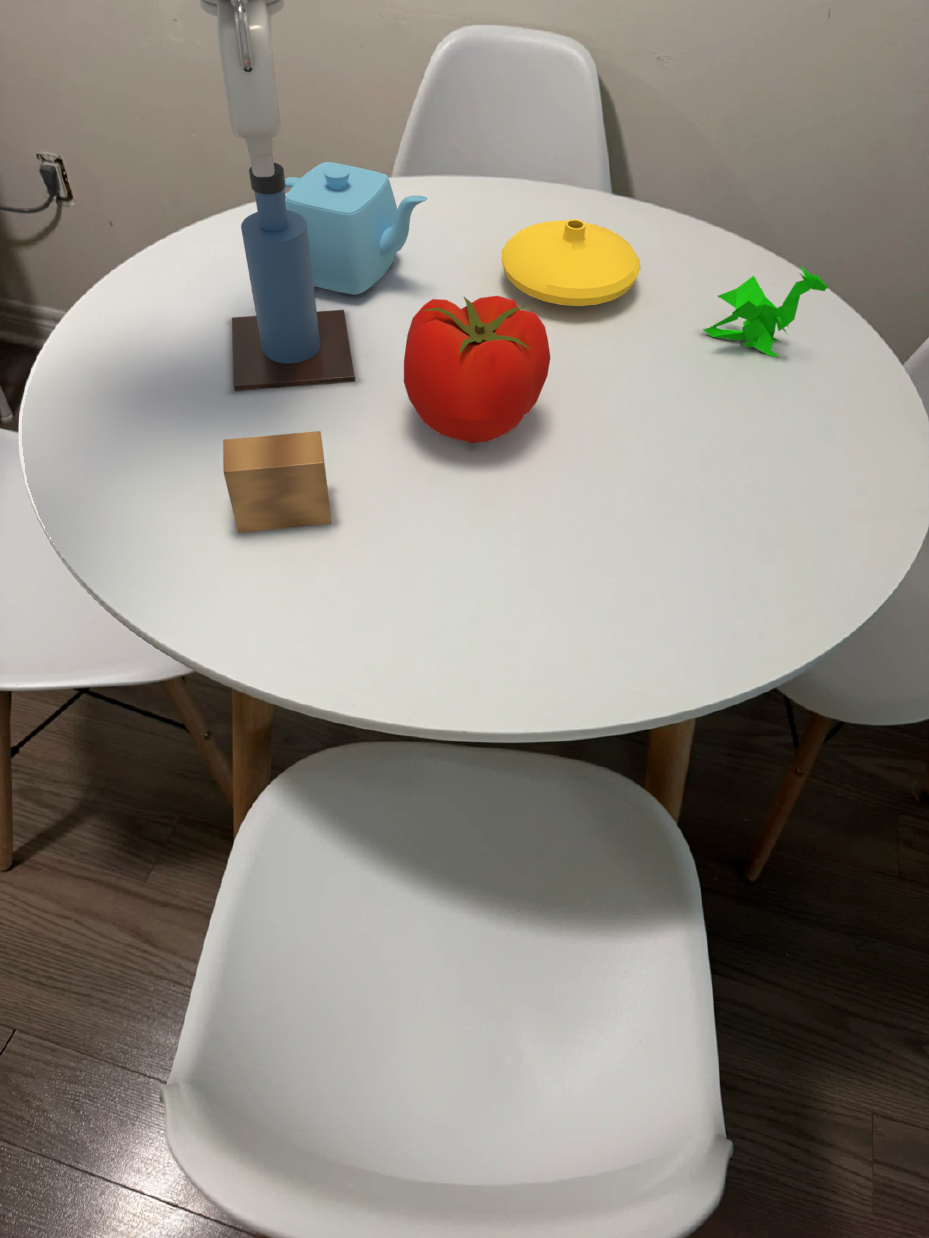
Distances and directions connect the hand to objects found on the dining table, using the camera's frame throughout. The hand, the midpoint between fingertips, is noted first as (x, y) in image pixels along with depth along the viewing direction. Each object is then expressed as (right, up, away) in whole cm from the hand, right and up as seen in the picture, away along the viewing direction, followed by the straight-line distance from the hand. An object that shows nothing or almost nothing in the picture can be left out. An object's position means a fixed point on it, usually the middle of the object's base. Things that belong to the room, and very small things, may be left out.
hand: (261, 148), depth 76 cm
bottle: (-1, -9, +17) cm, 20 cm away
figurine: (+49, -11, +20) cm, 54 cm away
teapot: (+5, -1, +26) cm, 26 cm away
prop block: (+2, -31, +1) cm, 31 cm away
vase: (+29, -2, +26) cm, 39 cm away
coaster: (-1, -13, +16) cm, 20 cm away
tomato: (+18, -21, +11) cm, 30 cm away
